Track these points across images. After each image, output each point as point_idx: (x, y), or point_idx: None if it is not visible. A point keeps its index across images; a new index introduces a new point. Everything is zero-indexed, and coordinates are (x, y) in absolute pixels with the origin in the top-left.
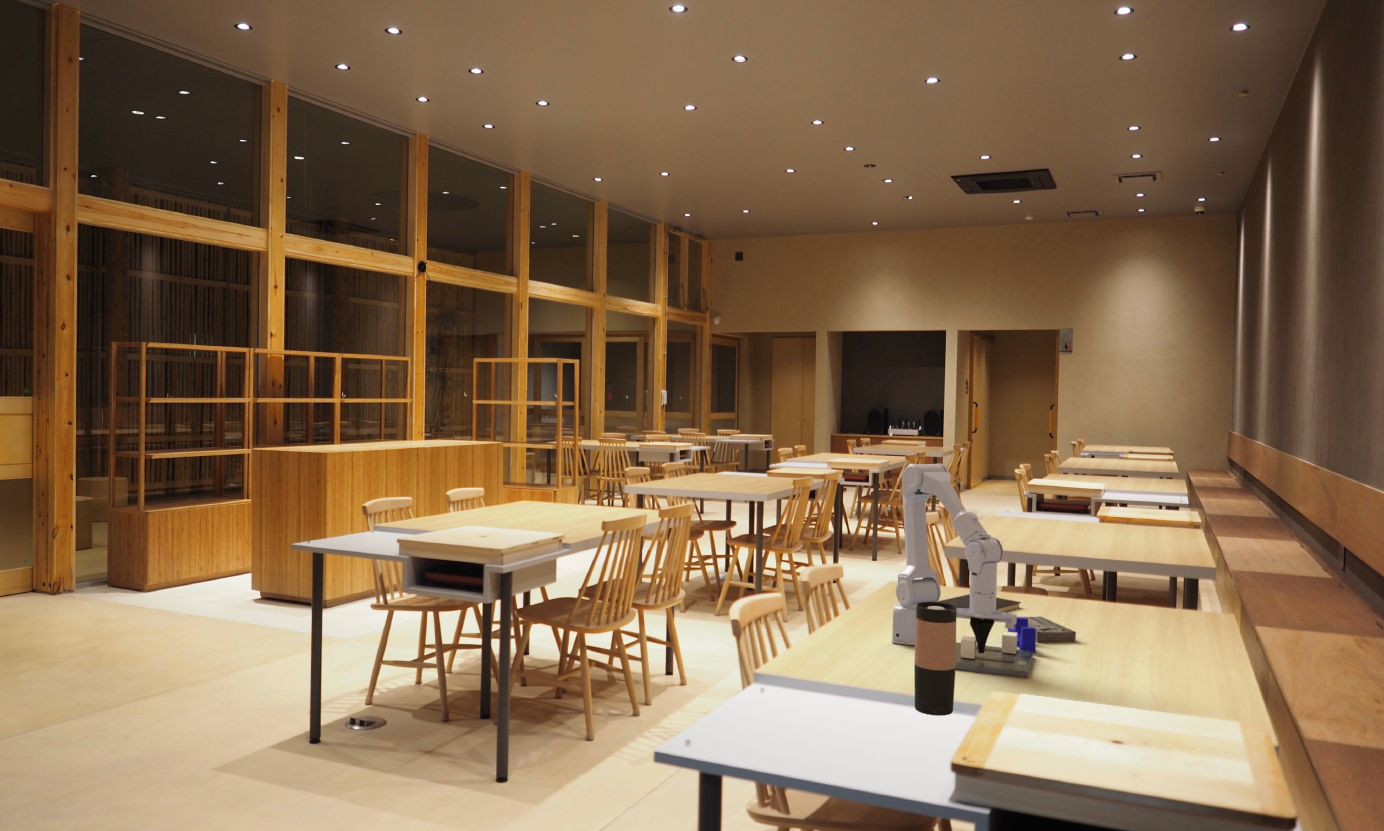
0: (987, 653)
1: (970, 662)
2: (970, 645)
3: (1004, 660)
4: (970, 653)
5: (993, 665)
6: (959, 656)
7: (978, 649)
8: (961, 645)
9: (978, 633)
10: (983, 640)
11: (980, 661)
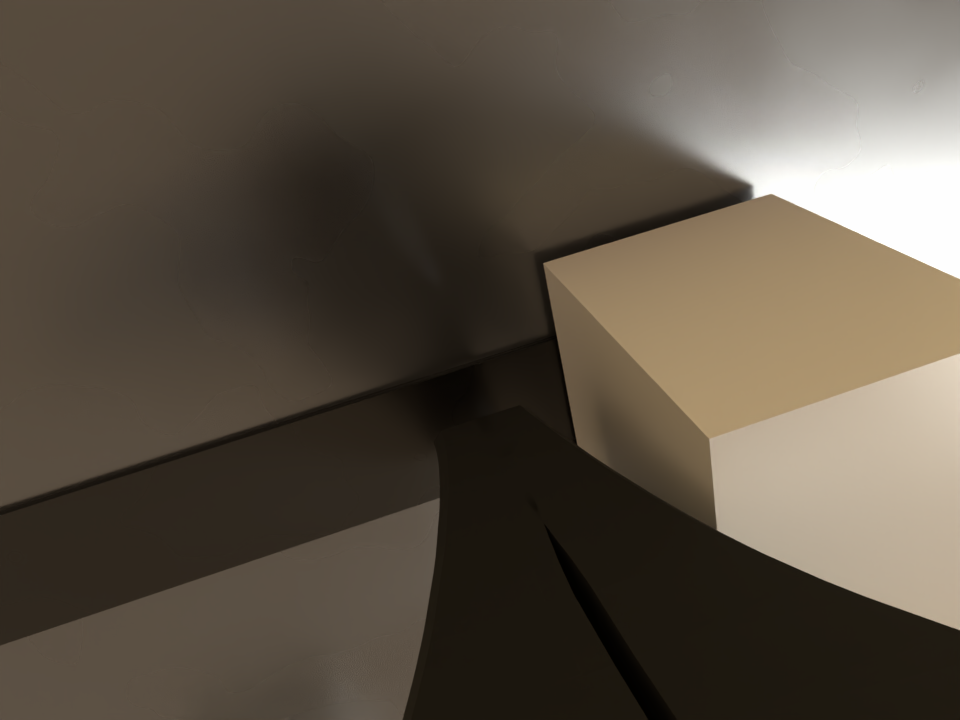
0: None
1: (535, 5)
2: (740, 338)
3: (95, 563)
4: (649, 277)
5: (53, 108)
6: None
7: (548, 426)
8: (917, 269)
9: (744, 667)
10: (500, 586)
11: (405, 225)
